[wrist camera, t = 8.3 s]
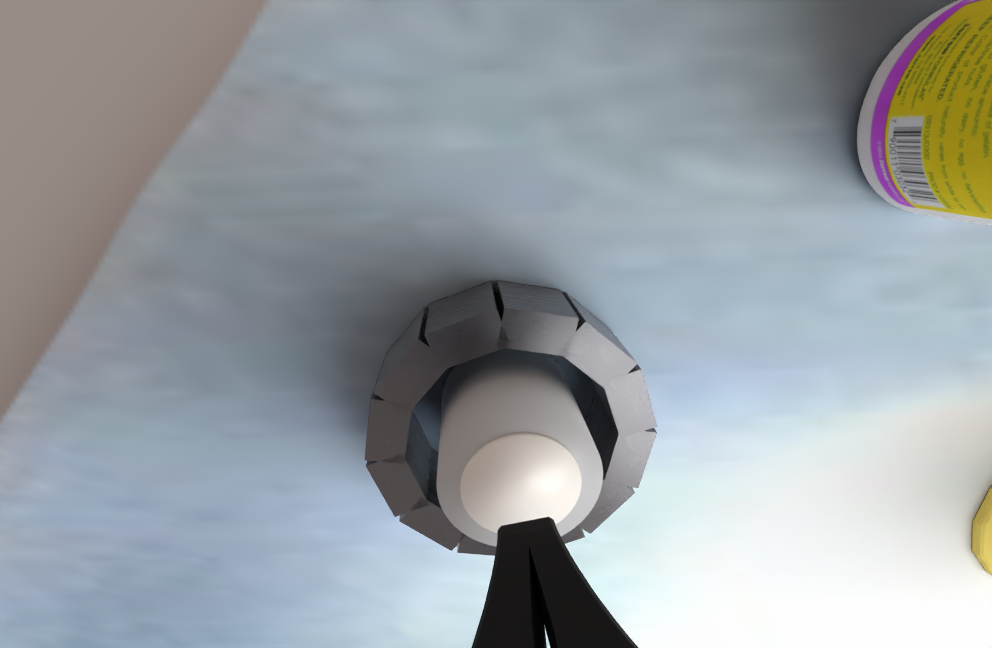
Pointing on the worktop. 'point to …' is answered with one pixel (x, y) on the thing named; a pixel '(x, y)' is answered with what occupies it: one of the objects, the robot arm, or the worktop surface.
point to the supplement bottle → (934, 117)
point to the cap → (514, 446)
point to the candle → (983, 533)
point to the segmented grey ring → (479, 331)
